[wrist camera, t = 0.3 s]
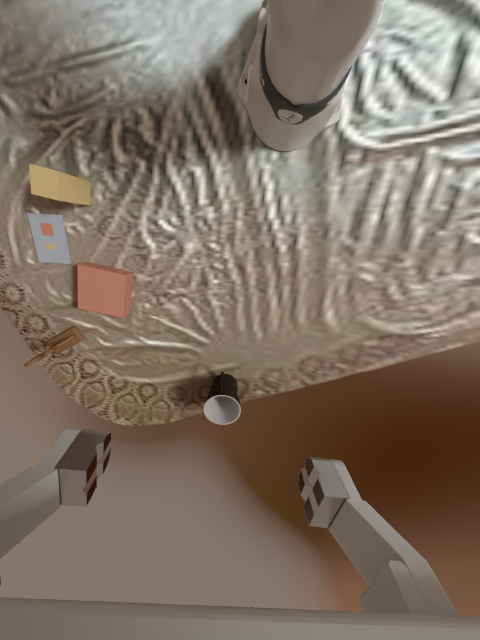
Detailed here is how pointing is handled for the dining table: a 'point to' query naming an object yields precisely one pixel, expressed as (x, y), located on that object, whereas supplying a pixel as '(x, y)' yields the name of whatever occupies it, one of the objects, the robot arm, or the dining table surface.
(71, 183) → the ochre brick
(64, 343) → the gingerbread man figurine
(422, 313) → the dining table surface
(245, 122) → the dining table surface
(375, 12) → the robot arm
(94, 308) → the base brick
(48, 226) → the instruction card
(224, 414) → the coffee mug
